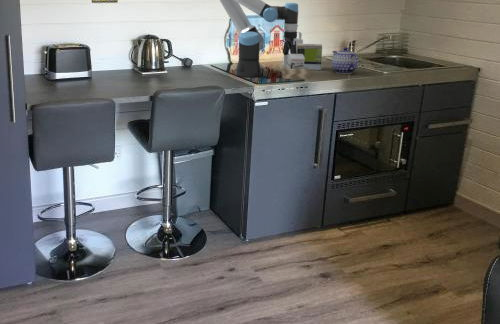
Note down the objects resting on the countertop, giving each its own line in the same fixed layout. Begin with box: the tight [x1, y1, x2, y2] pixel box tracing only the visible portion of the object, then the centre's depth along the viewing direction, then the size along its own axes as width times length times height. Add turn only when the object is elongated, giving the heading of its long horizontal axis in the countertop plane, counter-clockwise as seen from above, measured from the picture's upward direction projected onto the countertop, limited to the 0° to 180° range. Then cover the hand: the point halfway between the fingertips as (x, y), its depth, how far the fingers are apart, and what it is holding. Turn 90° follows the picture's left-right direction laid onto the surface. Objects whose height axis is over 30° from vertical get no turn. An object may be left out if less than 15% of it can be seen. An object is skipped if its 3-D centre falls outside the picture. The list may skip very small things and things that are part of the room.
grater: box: [282, 31, 304, 60], centre depth 365 cm, size 10×10×20 cm
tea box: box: [297, 43, 323, 71], centre depth 350 cm, size 15×10×15 cm, turn 84°
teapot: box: [331, 46, 359, 75], centre depth 340 cm, size 25×15×15 cm, turn 24°
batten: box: [281, 68, 311, 80], centre depth 320 cm, size 15×3×5 cm, turn 103°
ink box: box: [285, 53, 305, 69], centre depth 324 cm, size 9×5×12 cm, turn 103°
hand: (289, 68), depth 335 cm, fingers open, 13 cm apart
